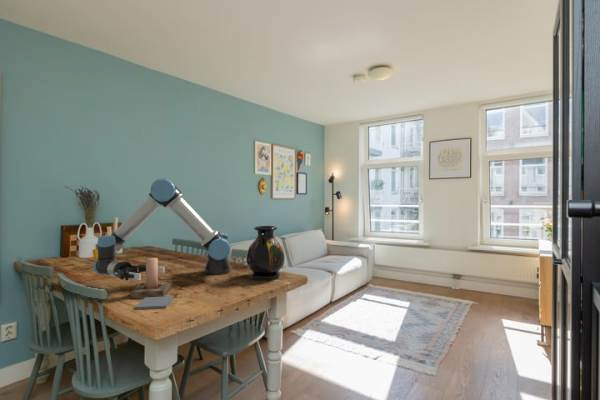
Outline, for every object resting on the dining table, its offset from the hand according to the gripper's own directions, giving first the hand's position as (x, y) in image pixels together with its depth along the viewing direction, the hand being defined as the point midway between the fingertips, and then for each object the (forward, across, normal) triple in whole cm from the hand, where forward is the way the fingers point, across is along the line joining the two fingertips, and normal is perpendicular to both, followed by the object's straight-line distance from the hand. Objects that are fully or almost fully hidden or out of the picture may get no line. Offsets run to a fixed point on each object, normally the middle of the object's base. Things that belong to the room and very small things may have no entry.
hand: (152, 273), depth 147 cm
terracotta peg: (-1, 0, -9) cm, 9 cm away
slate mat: (+12, +10, -9) cm, 18 cm away
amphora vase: (+33, -47, -10) cm, 58 cm away
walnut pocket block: (-1, 0, -9) cm, 9 cm away
